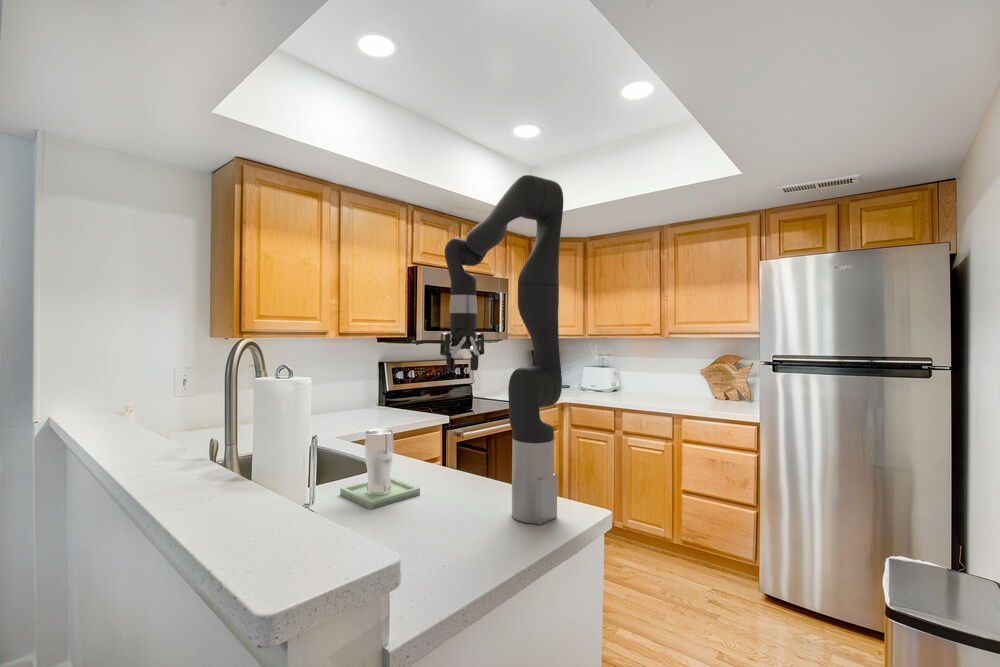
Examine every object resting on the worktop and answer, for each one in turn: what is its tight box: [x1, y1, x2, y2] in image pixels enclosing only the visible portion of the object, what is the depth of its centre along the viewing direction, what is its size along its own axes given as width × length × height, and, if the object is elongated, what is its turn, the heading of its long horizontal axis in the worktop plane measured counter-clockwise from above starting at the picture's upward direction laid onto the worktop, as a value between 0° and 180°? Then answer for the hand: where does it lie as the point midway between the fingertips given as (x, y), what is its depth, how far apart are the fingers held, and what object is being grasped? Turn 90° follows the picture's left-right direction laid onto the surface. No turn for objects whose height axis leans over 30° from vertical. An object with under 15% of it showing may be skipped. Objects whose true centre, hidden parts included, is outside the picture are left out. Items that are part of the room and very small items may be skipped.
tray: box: [339, 476, 421, 510], centre depth 119 cm, size 14×14×2 cm
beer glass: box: [364, 428, 395, 496], centre depth 118 cm, size 7×7×15 cm
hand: (462, 371), depth 131 cm, fingers open, 8 cm apart
